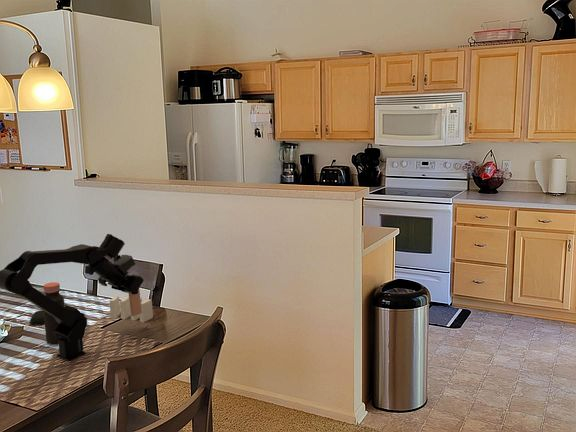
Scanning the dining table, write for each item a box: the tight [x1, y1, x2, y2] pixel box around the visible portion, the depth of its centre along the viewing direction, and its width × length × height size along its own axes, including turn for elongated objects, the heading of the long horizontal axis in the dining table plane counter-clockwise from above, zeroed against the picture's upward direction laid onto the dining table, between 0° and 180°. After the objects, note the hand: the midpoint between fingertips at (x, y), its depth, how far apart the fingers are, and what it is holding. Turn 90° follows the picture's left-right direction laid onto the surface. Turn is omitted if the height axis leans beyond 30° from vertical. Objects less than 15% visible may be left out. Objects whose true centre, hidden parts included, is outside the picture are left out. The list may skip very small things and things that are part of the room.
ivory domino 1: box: [109, 295, 121, 320], centre depth 213 cm, size 2×5×7 cm, turn 173°
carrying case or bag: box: [29, 309, 45, 326], centre depth 211 cm, size 11×3×15 cm
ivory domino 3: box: [130, 297, 143, 321], centre depth 211 cm, size 2×5×7 cm, turn 158°
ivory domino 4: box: [139, 299, 154, 323], centre depth 209 cm, size 2×5×7 cm, turn 150°
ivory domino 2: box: [119, 296, 131, 320], centre depth 212 cm, size 2×5×7 cm, turn 165°
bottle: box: [43, 281, 66, 345], centre depth 190 cm, size 7×7×20 cm
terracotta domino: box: [128, 288, 142, 316], centre depth 199 cm, size 2×4×10 cm, turn 144°
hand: (135, 292), depth 199 cm, fingers closed on terracotta domino, 2 cm apart
